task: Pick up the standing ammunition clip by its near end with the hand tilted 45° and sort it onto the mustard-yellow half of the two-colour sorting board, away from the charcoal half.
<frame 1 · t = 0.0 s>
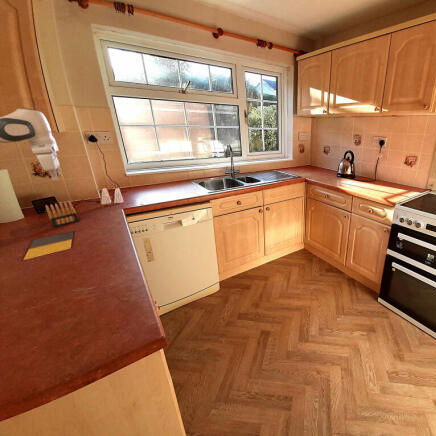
hand: (57, 178, 115), 26 cm above the countertop, tool pointing down, fingers open, 8 cm apart
sorting board: (52, 246, 105), on the countertop
shaker set: (113, 204, 160), on the countertop
ammunition clip: (66, 224, 129), on the countertop
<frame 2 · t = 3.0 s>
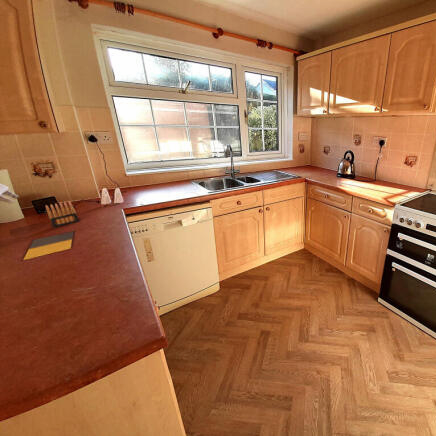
hand: (15, 199, 116), 17 cm above the countertop, tool tilted 45°, fingers open, 8 cm apart
nothing on the countertop moved.
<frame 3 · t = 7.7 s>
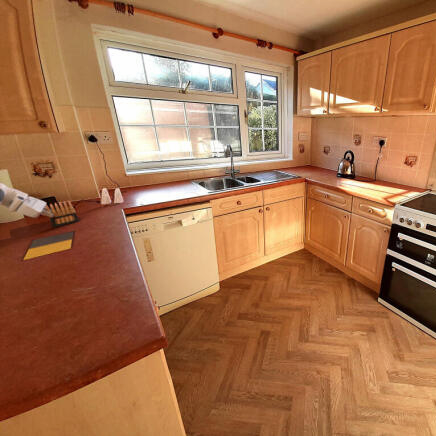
hand: (53, 214, 125), 6 cm above the countertop, tool tilted 45°, fingers closed on ammunition clip, 2 cm apart
ammunition clip: (66, 224, 129), on the countertop, touching gripper
everything else where it was.
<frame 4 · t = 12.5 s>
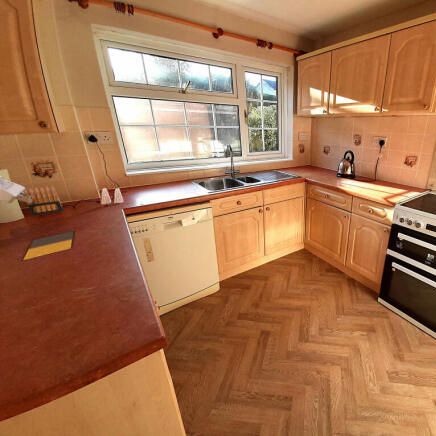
hand: (32, 200, 107), 18 cm above the countertop, tool tilted 45°, fingers closed on ammunition clip
ammunition clip: (48, 213, 111), point 12 cm above the countertop, touching gripper
everything else where it was.
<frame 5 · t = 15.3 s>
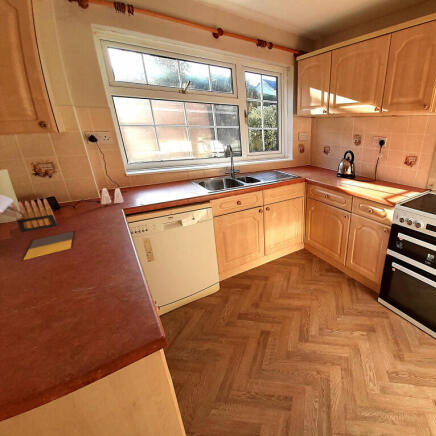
hand: (22, 215, 94), 17 cm above the countertop, tool tilted 45°, fingers closed on ammunition clip
ammunition clip: (40, 228, 98), point 10 cm above the countertop, touching gripper
everything else where it was.
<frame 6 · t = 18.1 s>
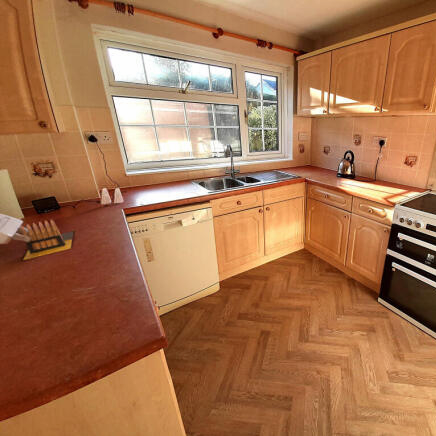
hand: (31, 237, 97), 8 cm above the countertop, tool tilted 45°, fingers open, 4 cm apart
ammunition clip: (48, 249, 101), point 1 cm above the countertop, touching sorting board
everything else where it was.
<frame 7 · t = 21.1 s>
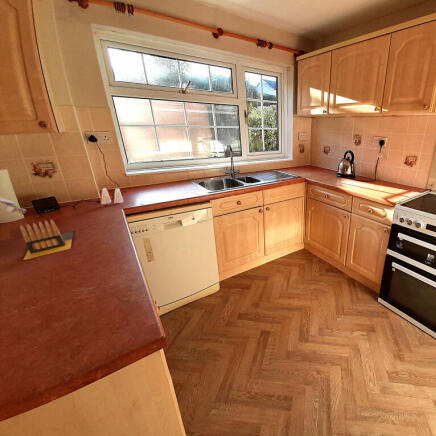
hand: (19, 211, 90), 20 cm above the countertop, tool tilted 50°, fingers open, 8 cm apart
nothing on the countertop moved.
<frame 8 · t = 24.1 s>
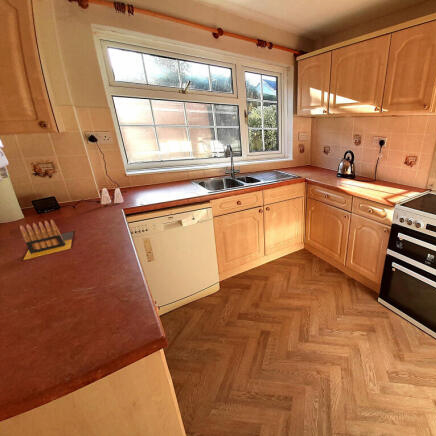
hand: (2, 179, 98), 29 cm above the countertop, tool pointing down, fingers open, 8 cm apart
nothing on the countertop moved.
at the end: ammunition clip inside the target area on the sorting board (0.4 cm from its centre), point 1.0 cm above the sorting board's base; ammunition clip tilted 0°; the gripper is holding nothing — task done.
